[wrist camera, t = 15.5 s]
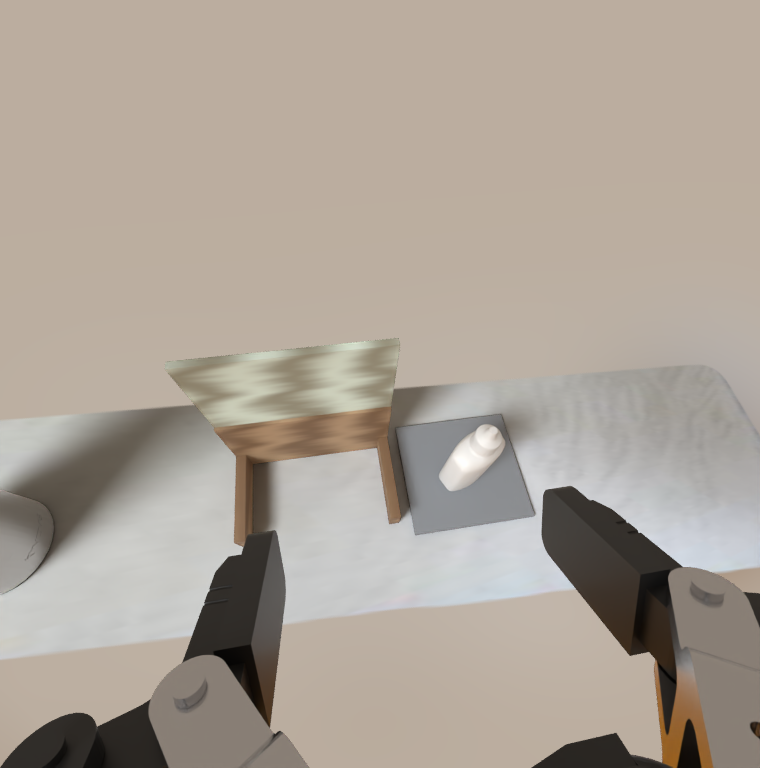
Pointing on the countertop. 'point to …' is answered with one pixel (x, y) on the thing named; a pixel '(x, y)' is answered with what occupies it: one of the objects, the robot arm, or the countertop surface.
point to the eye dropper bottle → (472, 457)
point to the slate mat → (471, 504)
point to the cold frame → (296, 408)
